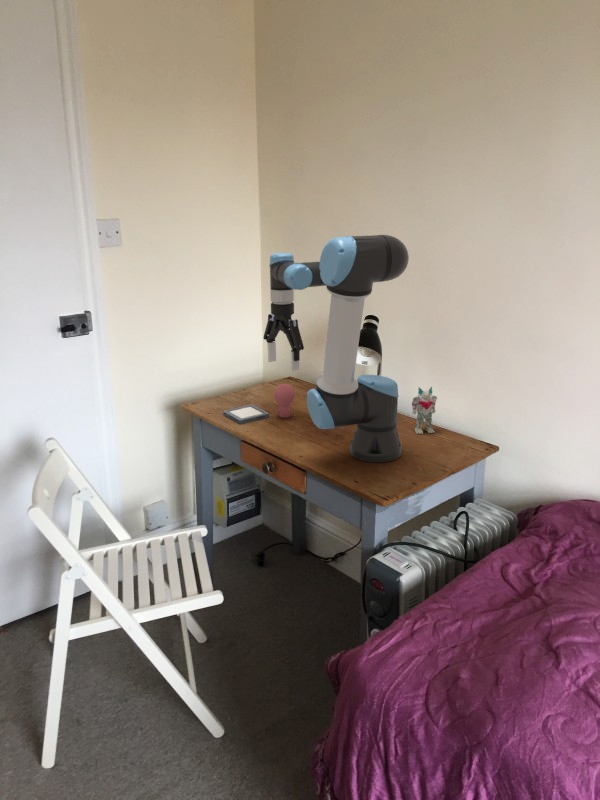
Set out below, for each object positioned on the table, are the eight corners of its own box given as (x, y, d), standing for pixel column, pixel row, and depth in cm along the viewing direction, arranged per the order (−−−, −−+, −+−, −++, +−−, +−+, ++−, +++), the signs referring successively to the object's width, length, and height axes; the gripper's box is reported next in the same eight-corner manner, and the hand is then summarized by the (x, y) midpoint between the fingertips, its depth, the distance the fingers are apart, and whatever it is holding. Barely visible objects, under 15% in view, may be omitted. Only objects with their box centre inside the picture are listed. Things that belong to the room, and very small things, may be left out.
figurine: (406, 432, 209) (408, 387, 204) (416, 424, 215) (418, 381, 210) (430, 436, 205) (433, 391, 200) (439, 429, 211) (442, 385, 206)
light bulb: (292, 421, 219) (292, 387, 215) (272, 420, 220) (271, 386, 216) (297, 414, 225) (296, 381, 221) (277, 413, 226) (276, 380, 223)
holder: (269, 417, 223) (269, 413, 222) (240, 424, 216) (239, 420, 216) (251, 408, 232) (251, 404, 231) (223, 415, 225) (223, 410, 225)
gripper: (314, 306, 202) (314, 372, 209) (271, 295, 221) (272, 356, 228) (295, 309, 198) (295, 376, 205) (252, 298, 217) (254, 359, 224)
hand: (283, 365), depth 217 cm, fingers open, 13 cm apart
